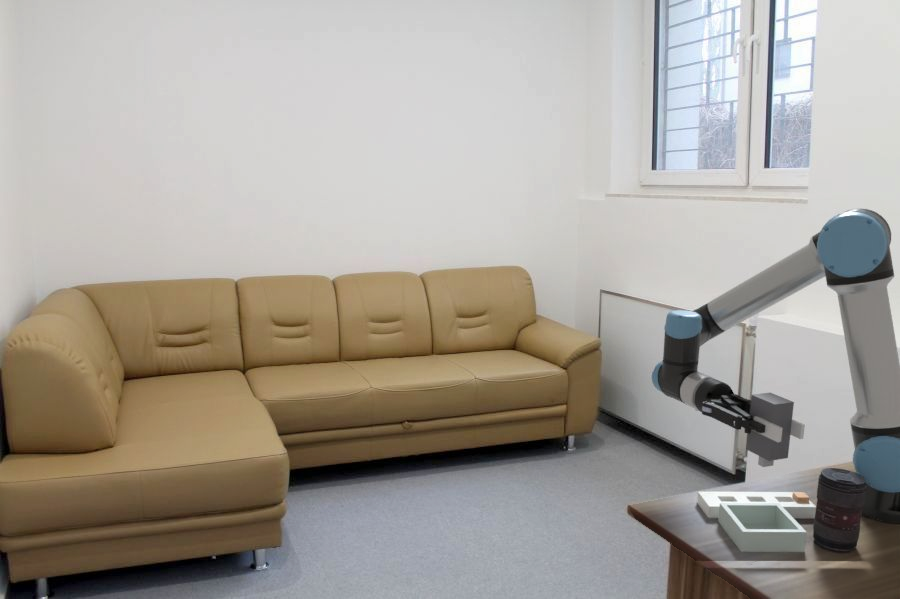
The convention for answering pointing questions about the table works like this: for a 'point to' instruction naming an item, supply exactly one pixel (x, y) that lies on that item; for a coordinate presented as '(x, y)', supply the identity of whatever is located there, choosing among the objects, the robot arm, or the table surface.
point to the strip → (790, 501)
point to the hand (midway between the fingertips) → (791, 433)
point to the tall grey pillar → (778, 414)
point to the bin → (762, 527)
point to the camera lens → (839, 509)
